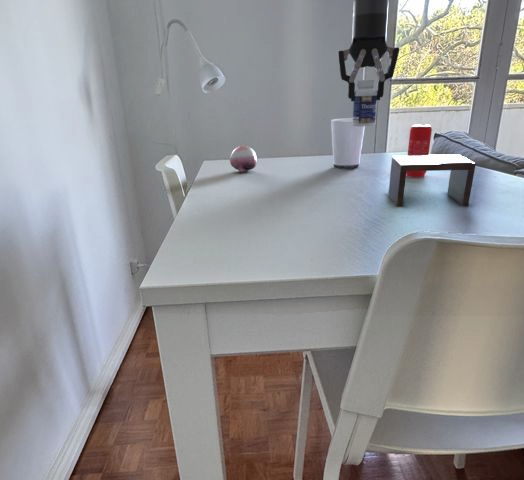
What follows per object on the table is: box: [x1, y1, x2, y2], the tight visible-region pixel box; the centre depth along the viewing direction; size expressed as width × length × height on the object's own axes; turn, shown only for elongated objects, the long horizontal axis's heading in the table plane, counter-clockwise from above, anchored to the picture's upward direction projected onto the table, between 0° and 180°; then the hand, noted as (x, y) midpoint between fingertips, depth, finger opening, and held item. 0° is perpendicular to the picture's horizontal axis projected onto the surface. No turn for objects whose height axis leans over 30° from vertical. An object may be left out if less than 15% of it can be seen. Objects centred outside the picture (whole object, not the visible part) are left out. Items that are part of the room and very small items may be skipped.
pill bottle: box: [352, 79, 378, 127], centre depth 112 cm, size 5×5×10 cm
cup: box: [330, 117, 366, 170], centre depth 137 cm, size 10×10×13 cm
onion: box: [229, 144, 258, 173], centre depth 137 cm, size 8×8×7 cm
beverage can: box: [406, 124, 433, 178], centre depth 120 cm, size 5×5×12 cm
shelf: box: [388, 154, 477, 208], centre depth 98 cm, size 14×12×8 cm
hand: (365, 100), depth 111 cm, fingers closed on pill bottle, 5 cm apart
